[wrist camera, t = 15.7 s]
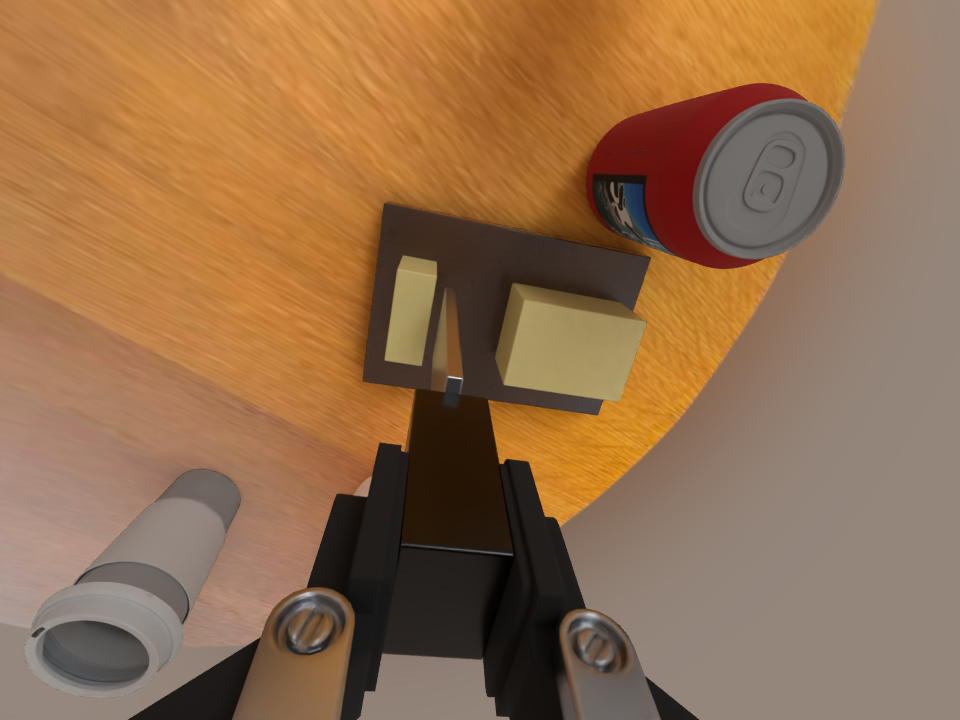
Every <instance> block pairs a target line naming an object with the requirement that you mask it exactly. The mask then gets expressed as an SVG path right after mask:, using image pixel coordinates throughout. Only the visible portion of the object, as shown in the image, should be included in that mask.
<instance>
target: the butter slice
mask: <svg viewBox="0 0 960 720" xmlns="http://www.w3.org/2000/svg"><path fill="white" fill-rule="evenodd" d="M436 280H437V262H436V261H430V260H425V259H420V258H415V257H409V256H402V259H401V261H400V264H399V266H398V269H397V274H396V281H395V288H394V295H393V302H392V309H391V316H390V324H389V331H388V338H387V345H386V352H385V361H391V362H398V363H404V364H411V365H417V366H421V365H422V361H423V355H424V349H425V344H426V338H427V332H428V326H429V320H430V315H431V309H432V303H433V297H434V291H435V286H436Z"/></svg>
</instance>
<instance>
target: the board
mask: <svg viewBox="0 0 960 720" xmlns="http://www.w3.org/2000/svg"><path fill="white" fill-rule="evenodd" d="M402 256H409V257H415V258H420V259H425V260H430V261H436V262H437V280H436V286H435V291H434V297H433V303H432V309H431V315H430V320H429V326H428V332H427V338H426V344H425V349H424V355H423V361H422V365H421V366H417V365H411V364H404V363H398V362H391V361H385V352H386V345H387V338H388V331H389V324H390V316H391V309H392V302H393V295H394V288H395V281H396V274H397V269H398V266H399V264H400V261H401V259H402ZM650 259H651V258H650V257H648V256H646V255H644V254H641V253H637V252H632V251H627V250H622V249H617V248H612V247H607V246H603V245H598V244H593V243H588V242H583V241H578V240H573V239H568V238H564V237H559V236H554V235H549V234H544V233H539V232H534V231H529V230H525V229H520V228H515V227H510V226H505V225H500V224H495V223H490V222H486V221H481V220H476V219H471V218H466V217H461V216H456V215H452V214H447V213H442V212H437V211H432V210H427V209H422V208H417V207H413V206H408V205H403V204H398V203H393V202H386V203H384V208H383V216H382V224H381V233H380V241H379V249H378V257H377V265H376V274H375V282H374V290H373V298H372V307H371V315H370V323H369V331H368V339H367V348H366V356H365V364H364V372H363V382H368V383H375V384H382V385H389V386H396V387H403V388H410V389H417V388H420V389H427V390H431V375H432V358H433V353H434V347H435V342H436V336H437V331H438V325H439V320H440V314H441V308H442V303H443V297H444V292H445V288H446V287H449V288H454V289H455V292H456V303H457V315H458V326H459V337H460V348H461V359H462V370H463V384H462V388H461V393H460V394H461V395H467V396H474V397H481V398H486V399H488V400H494V401H501V402H508V403H515V404H521V405H528V406H535V407H542V408H549V409H556V410H563V411H570V412H577V413H584V414H591V415H598V414H599V411H600V408H601V405H602V402H603V400H601V399H595V398H588V397H581V396H575V395H568V394H561V393H555V392H548V391H541V390H535V389H528V388H521V387H515V386H508V385H504V384H503V382H502V379H501V375H500V372H499V369H498V366H497V362H496V359H495V356H496V352H497V347H498V343H499V339H500V334H501V330H502V326H503V321H504V317H505V313H506V309H507V304H508V300H509V296H510V291H511V287H512V283H518V284H524V285H529V286H534V287H540V288H545V289H550V290H556V291H561V292H567V293H572V294H577V295H583V296H588V297H593V298H599V299H604V300H610V301H615V302H620V303H622V304H623V305H624V306H626V307H627V308H628V309H630V310H631V311H633V310H634V307H635V304H636V301H637V298H638V295H639V292H640V289H641V286H642V283H643V280H644V277H645V274H646V271H647V268H648V265H649V262H650Z"/></svg>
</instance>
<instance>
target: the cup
mask: <svg viewBox="0 0 960 720" xmlns="http://www.w3.org/2000/svg"><path fill="white" fill-rule="evenodd" d="M239 505H240V494H239V491H238V489H237V487H236V485H235V484H234V483H233V482H232V481H231V480H230V479H229V478H227V477H226V476H224V475H222V474H220V473H217V472H215V471H210V470H193V471H189V472H186V473H184V474H182V475H181V476H180V477H178V478H177V479H176V481H175V482H174V483H173V484H172V485H171V486H170V487H169V488H168V489H167V490H166V491H165V492H164V493H163V494H162V495H161V496H160V497H159V498H158V499H157V500H156V501H155V502H154V503H153V504H151V505H149V506H148V507H147V508H146V509H144V510H143V511H142V512H141V514H140V515H139V516H138V517H137V518H136V519H135V520H134V521H133V522H132V523H131V524H130V525H129V526H128V527H127V528H126V529H125V530H124V531H123V532H122V533H121V534H120V535H119V536H118V537H117V538H116V539H115V540H114V541H113V542H112V543H111V544H110V545H109V546H108V547H107V548H106V549H105V550H104V551H103V552H102V554H101V555H100V556H99V557H98V558H97V559H96V560H95V561H94V562H93V563H92V564H91V565H90V566H89V567H88V568H87V569H86V570H85V571H84V572H83V573H82V574H81V575H80V576H79V577H78V579H77V580H76V581H75V582H74V584H73V586H70V587H67V588H65V589H63V590H61V591H59V592H57V593H55V594H54V595H52V596H51V597H50V598H48V599H47V600H46V601H45V602H44V603H43V604H42V606H41V607H40V609H39V610H38V612H37V614H36V616H35V619H34V621H33V623H32V628H31V633H30V634H29V636H28V637H27V640H26V642H25V644H24V656H25V660H26V662H27V664H28V666H29V668H30V669H31V671H32V672H33V673H34V674H35V675H36V676H37V677H38V678H39V679H41V680H42V681H43V682H45V683H46V684H47V685H49V686H51V687H53V688H55V689H57V690H60V691H63V692H65V693H68V694H72V695H76V696H80V697H88V698H111V697H119V696H123V695H127V694H130V693H132V692H135V691H137V690H139V689H140V688H142V687H143V686H145V685H146V684H147V683H149V682H150V681H151V680H152V678H153V677H154V676H155V674H156V673H157V672H159V671H160V670H162V669H163V668H164V667H165V666H166V665H167V664H168V663H169V662H170V661H171V660H172V659H173V658H174V657H175V656H176V654H177V653H178V651H179V649H180V647H181V645H182V641H183V627H182V625H183V624H184V623H185V621H186V620H187V618H188V616H189V614H190V612H191V610H192V608H193V606H194V604H195V602H196V599H197V597H198V595H199V593H200V591H201V589H202V587H203V585H204V583H205V581H206V579H207V577H208V575H209V572H210V570H211V568H212V566H213V564H214V562H215V560H216V558H217V556H218V554H219V552H220V550H221V548H222V545H223V543H224V540H225V534H226V532H227V530H228V528H229V526H230V524H231V522H232V520H233V518H234V516H235V514H236V512H237V510H238V508H239Z"/></svg>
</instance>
